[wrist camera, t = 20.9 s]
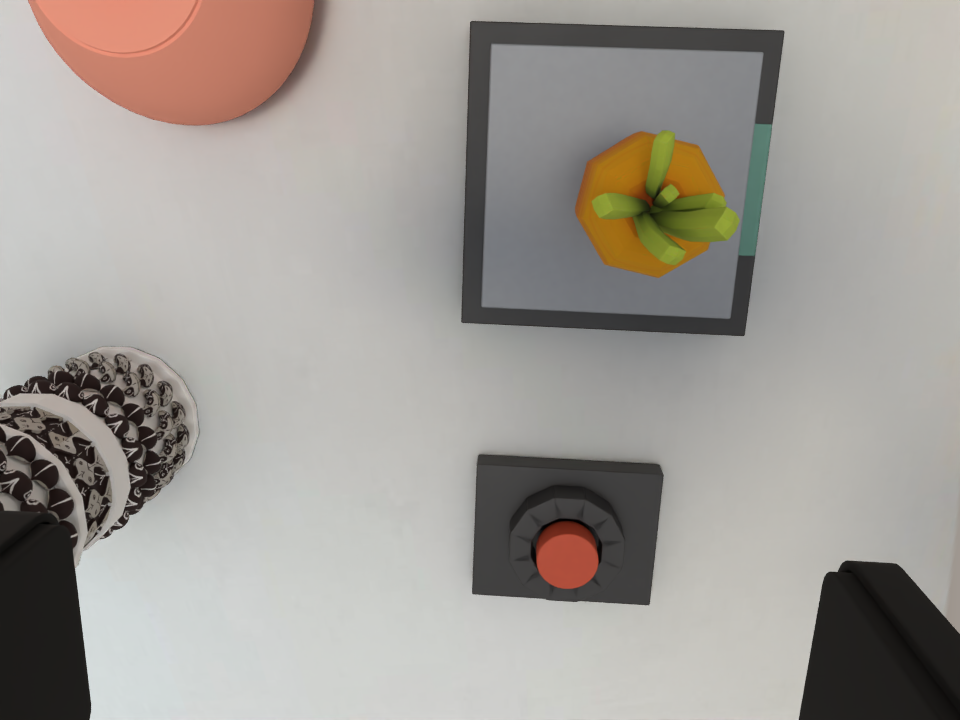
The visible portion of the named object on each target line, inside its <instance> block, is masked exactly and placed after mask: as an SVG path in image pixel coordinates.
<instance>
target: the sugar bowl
mask: <svg viewBox="0 0 960 720" xmlns="http://www.w3.org/2000/svg"><path fill="white" fill-rule="evenodd" d="M28 2H29V4H30V6H31V9H32V11H33V13H34V15H35V18H36V20H37V22H38V24H39V26H40V28H41V29H42V31H43V33H44V35H45V36H46V38H47V40H48V41H49V43H50V44H51V45H52V47H53V48H54V50H55V51H56V52H57V54H58V55H59V56H60V57H61V58H62V59H63V61H64V62H65V63H66V64H67V65H68V66H69V67H70V68H71V69H72V70H73V72H74V73H75V74H76V75H77V76H78V77H80V78H81V79H82V80H83V81H84V82H85V83H87V84H88V85H89V86H90V87H92V88H93V89H94V90H96V91H97V92H99V93H100V94H102V95H103V96H105V97H106V98H108V99H109V100H111V101H112V102H114V103H116V104H118V105H120V106H122V107H124V108H126V109H128V110H130V111H132V112H134V113H136V114H139V115H142V116H145V117H148V118H150V119H153V120H158V121H163V122H167V123H172V124H182V125H210V124H215V123H220V122H225V121H228V120H231V119H234V118H237V117H239V116H242V115H244V114H246V113H247V112H249V111H251V110H253V109H255V108H256V107H258V106H259V105H260V104H262V103H263V102H265V101H266V100H267V99H269V98H270V97H271V96H272V95H273V94H274V93H275V92H276V91H277V90H278V89H279V88H280V87H281V85H282V84H283V83H284V82H285V80H286V79H287V78H288V76H289V75H290V74H291V72H292V70H293V69H294V67H295V65H296V63H297V62H298V60H299V58H300V56H301V53H302V51H303V48H304V46H305V43H306V41H307V37H308V33H309V30H310V26H311V22H312V14H313V7H314V0H28Z"/></svg>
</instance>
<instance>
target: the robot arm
mask: <svg viewBox="0 0 960 720" xmlns="http://www.w3.org/2000/svg"><path fill="white" fill-rule="evenodd" d="M90 713H91V700H90V691H89V683H88V674H87V666H86V658H85V649H84V641H83V632H82V624H81V615H80V607H79V598H78V590H77V582H76V573H75V565H74V556H73V548H72V539H71V535H70V532H69V530H68V528H67V527H65V526H64V525H59V522H58V520H57V519H56V517H55V516H54V515H52V514H51V513H41V512H25V511H0V720H89V719H90ZM799 720H960V634H959V633H958V632H957V631H956V629H955V628H954V627H953V626H952V625H951V624H950V622H948V620H947V619H946V618H945V617H944V616H943V614H942V613H941V612H940V611H939V610H938V609H937V608H936V606H935V605H934V604H933V603H932V602H931V601H930V600H929V598H928V597H927V596H926V595H925V594H924V593H923V592H922V590H921V589H920V588H919V587H918V586H917V585H916V584H915V582H914V581H913V580H912V579H911V578H910V577H909V576H908V574H907V573H906V572H905V571H904V570H903V569H902V568H901V567H900V566H899V565H897V564H894V563H879V562H862V561H845V562H843V563H842V564H841V566H840V568H839V570H838V572H828V573H827V574H826V576H825V577H824V580H823V584H822V590H821V595H820V601H819V607H818V613H817V618H816V624H815V630H814V636H813V641H812V647H811V653H810V658H809V664H808V670H807V676H806V681H805V687H804V693H803V699H802V704H801V710H800V716H799Z"/></svg>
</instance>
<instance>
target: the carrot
mask: <svg viewBox="0 0 960 720" xmlns="http://www.w3.org/2000/svg"><path fill="white" fill-rule="evenodd" d="M724 197H725V194H724V192H723V190H722V188H721V187H720V185H719V183H718V181H717V179H716V177H715V175H714V173H713V172H712V170H711V168H710V166H709V164H708V162H707V160H706V158H705V156H704V155H703V153H702V151H701V149H700V147H699V146H698V145H696V144H692V143H688V142H684V141H680V140H676V139H675V133H673V132H671V131H670V130H662V131H661V132H660V133H659V134H657V135H656V134H652V133H647V132H643V131H640V132H637V133H634V134H632V135H630V136H628V137H626V138H625V139H623V140H622V141H620V142H618V143H617V144H615V145H613V146H612V147H610V148H609V149H607V150H605V151H604V152H602V153H600V154H599V155H597V156H596V157H594V158H592V159H591V160H589V161H587V164H586V168H585V172H584V176H583V179H582V183H581V187H580V190H579V194H578V198H577V202H576V205H575V213H576V216H577V218H578V220H579V222H580V223H581V225H582V227H583V229H584V230H585V232H586V234H587V236H588V237H589V239H590V241H591V242H592V244H593V246H594V248H595V249H596V251H597V253H598V255H599V256H600V258H601V260H602V262H603V263H604V265H607V266H611V267H615V268H619V269H624V270H628V271H632V272H636V273H640V274H644V275H648V276H652V277H656V278H660V277H661V276H663V275H665V274H667V273H668V272H670V271H672V270H674V269H675V268H677V267H679V266H681V265H682V264H684V263H686V262H688V261H689V260H691V259H693V258H695V257H696V256H698V255H700V254H702V253H703V252H705V251H707V250H708V248H709V244H710V242H717V241H727V240H728V239H729V238H730V237H731V236H732V235H733V234H734V233H735V232H736V230H737V227H738V224H739V222H740V219H739V218H738V216H737V214H736V212H734V211H733V210H731V209H730V208H728V207H726V203H727V202H726V201H725V199H724Z"/></svg>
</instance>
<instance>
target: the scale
mask: <svg viewBox="0 0 960 720" xmlns="http://www.w3.org/2000/svg"><path fill="white" fill-rule="evenodd" d="M783 39H784V31H782V30H749V29H716V28H683V27H650V26H617V25H584V24H551V23H518V22H485V21H471V22H470V48H469V82H468V116H467V149H466V183H465V217H464V250H463V284H462V318H461V322H462V323H478V324H499V325H521V326H542V327H563V328H584V329H605V330H626V331H647V332H668V333H689V334H710V335H731V336H744V335H745V328H746V321H747V313H748V306H749V298H750V290H751V283H752V275H753V268H754V260H755V252H756V245H757V237H758V229H759V222H760V214H761V207H762V199H763V191H764V184H765V176H766V168H767V161H768V153H769V146H770V138H771V130H772V123H773V115H774V108H775V100H776V92H777V85H778V77H779V69H780V62H781V54H782V47H783ZM662 130H670V131H671V132H673V133H675V139H676V140H680V141H684V142H688V143H692V144H696V145H698V146H699V147H700V149H701V151H702V153H703V155H704V156H705V158H706V160H707V162H708V164H709V166H710V168H711V170H712V172H713V173H714V175H715V177H716V179H717V181H718V183H719V185H720V187H721V188H722V190H723V192H724V194H725V197H724V199H725V201H726V202H727V203H726V207H728V208H730V209H731V210H733V211H734V212H736V214H737V216H738V218H739V219H740V222H739V224H738V227H737V230H736V232H735V233H734V234H733V235H732V236H731V237H730V238H729V239H728V240H727V241H717V242H710V244H709V248H708V250H707V251H705V252H703V253H702V254H700V255H698V256H696V257H695V258H693V259H691V260H689V261H688V262H686V263H684V264H682V265H681V266H679V267H677V268H675V269H674V270H672V271H670V272H668V273H667V274H665V275H663V276H661V277H660V278H656V277H652V276H648V275H644V274H640V273H636V272H632V271H628V270H624V269H619V268H615V267H611V266H607V265H604V263H603V262H602V260H601V258H600V256H599V255H598V253H597V251H596V249H595V248H594V246H593V244H592V242H591V241H590V239H589V237H588V236H587V234H586V232H585V230H584V229H583V227H582V225H581V223H580V222H579V220H578V218H577V216H576V213H575V205H576V202H577V198H578V194H579V190H580V187H581V183H582V179H583V176H584V172H585V168H586V164H587V161H589V160H591V159H592V158H594V157H596V156H597V155H599V154H600V153H602V152H604V151H605V150H607V149H609V148H610V147H612V146H613V145H615V144H617V143H618V142H620V141H622V140H623V139H625V138H626V137H628V136H630V135H632V134H634V133H637V132H640V131H643V132H647V133H652V134H656V135H657V134H659V133H660V132H661V131H662Z"/></svg>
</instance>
